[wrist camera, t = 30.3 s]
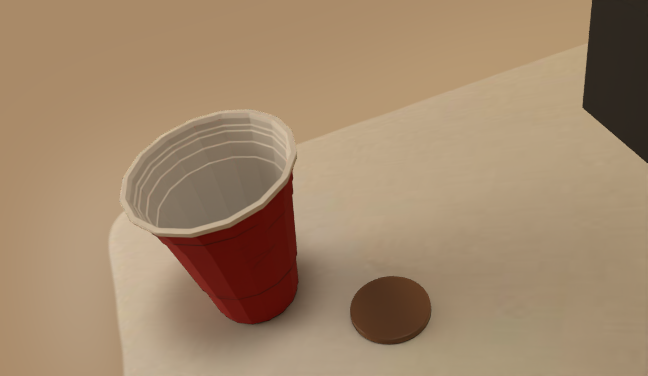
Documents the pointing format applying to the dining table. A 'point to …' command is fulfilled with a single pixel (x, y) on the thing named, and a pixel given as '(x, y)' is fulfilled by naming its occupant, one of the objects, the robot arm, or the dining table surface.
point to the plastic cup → (223, 207)
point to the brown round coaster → (390, 310)
